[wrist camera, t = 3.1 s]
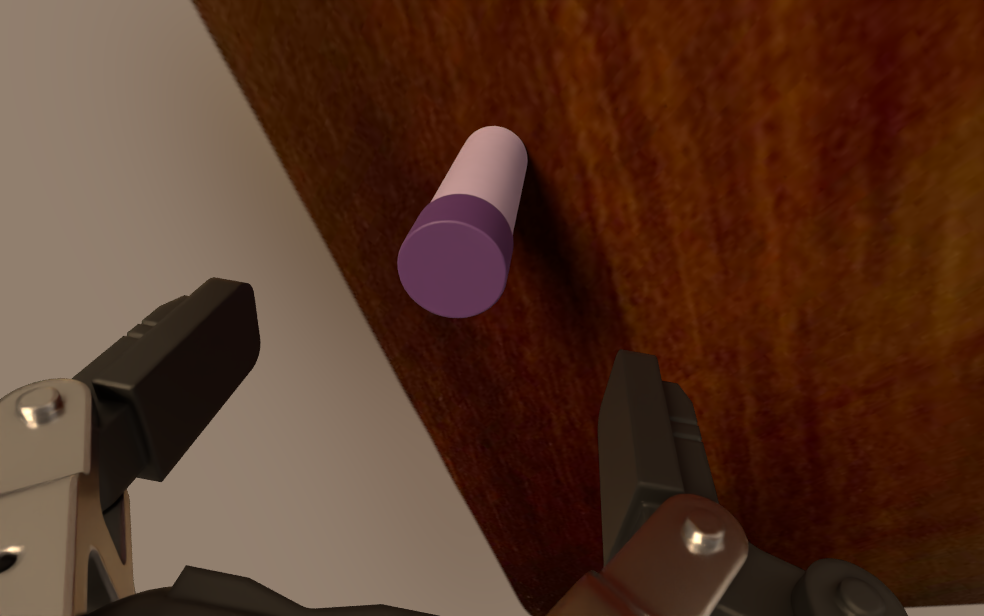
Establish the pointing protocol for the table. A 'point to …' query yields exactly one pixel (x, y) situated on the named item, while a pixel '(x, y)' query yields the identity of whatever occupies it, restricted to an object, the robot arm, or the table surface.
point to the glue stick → (467, 228)
